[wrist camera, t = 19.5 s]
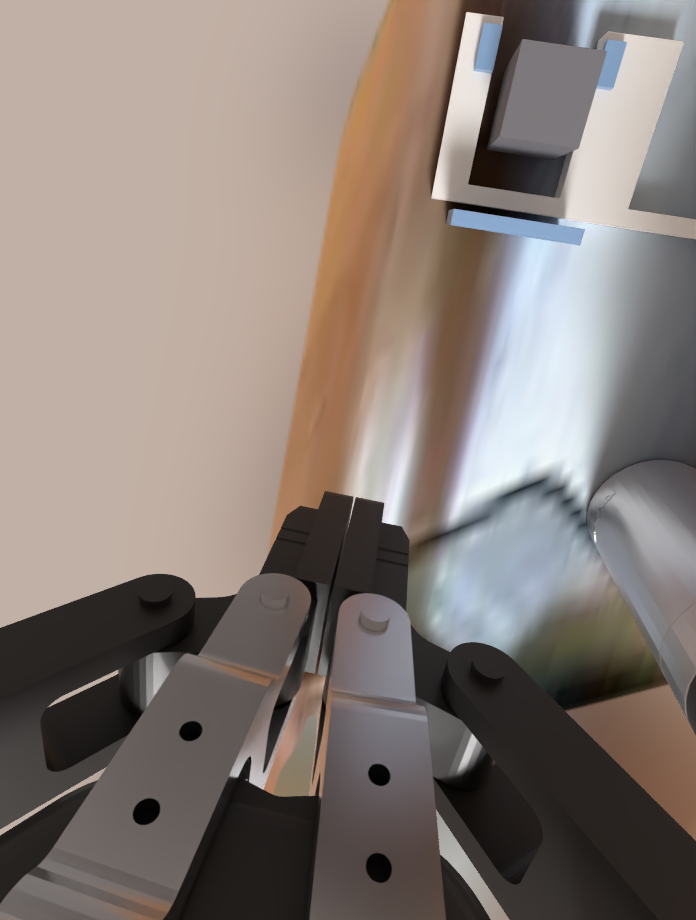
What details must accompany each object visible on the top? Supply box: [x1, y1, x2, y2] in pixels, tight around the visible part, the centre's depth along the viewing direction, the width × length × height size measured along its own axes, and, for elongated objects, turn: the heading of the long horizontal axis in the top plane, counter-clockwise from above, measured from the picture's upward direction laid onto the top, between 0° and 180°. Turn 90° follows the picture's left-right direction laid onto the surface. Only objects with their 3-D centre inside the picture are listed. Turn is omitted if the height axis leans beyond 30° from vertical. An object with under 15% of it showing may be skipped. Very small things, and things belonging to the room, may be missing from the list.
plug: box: [487, 39, 607, 160], centre depth 28 cm, size 4×4×6 cm
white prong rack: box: [431, 12, 696, 245], centre depth 29 cm, size 19×10×6 cm, turn 82°
